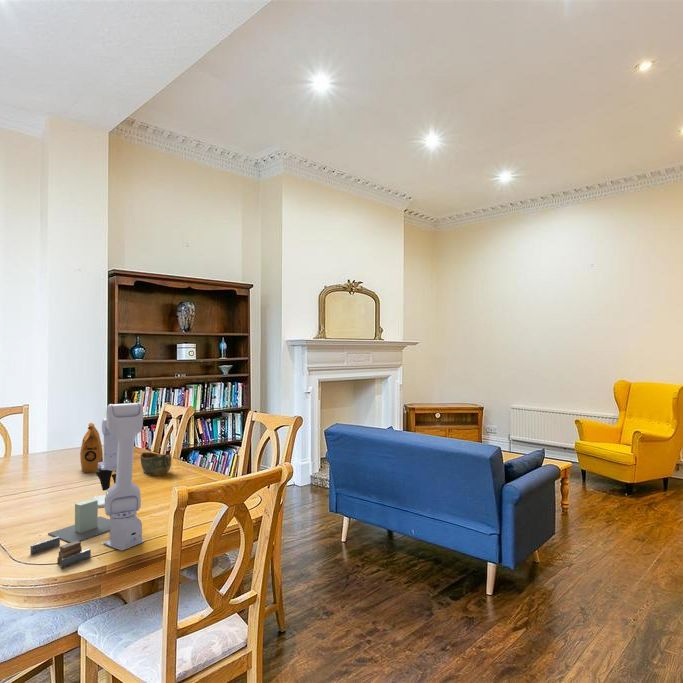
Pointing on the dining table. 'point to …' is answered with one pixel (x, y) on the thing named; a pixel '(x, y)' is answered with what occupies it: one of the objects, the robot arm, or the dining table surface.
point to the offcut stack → (69, 550)
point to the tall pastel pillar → (86, 515)
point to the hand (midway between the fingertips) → (112, 491)
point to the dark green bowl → (155, 463)
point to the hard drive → (100, 500)
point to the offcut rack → (64, 561)
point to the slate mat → (71, 535)
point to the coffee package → (91, 450)
